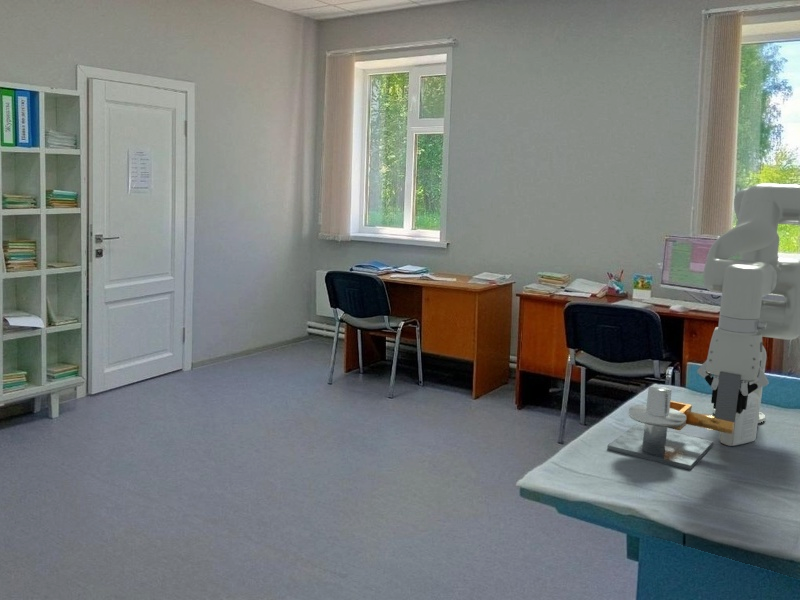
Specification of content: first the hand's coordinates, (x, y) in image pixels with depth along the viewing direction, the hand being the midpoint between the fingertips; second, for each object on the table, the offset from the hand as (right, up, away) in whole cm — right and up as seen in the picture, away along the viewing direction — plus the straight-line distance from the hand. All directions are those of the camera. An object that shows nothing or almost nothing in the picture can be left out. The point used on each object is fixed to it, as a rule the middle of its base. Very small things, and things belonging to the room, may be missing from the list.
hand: (728, 408), depth 158 cm
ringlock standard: (-8, -11, +11) cm, 18 cm away
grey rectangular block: (0, -2, 0) cm, 2 cm away
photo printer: (+11, -11, +20) cm, 25 cm away
